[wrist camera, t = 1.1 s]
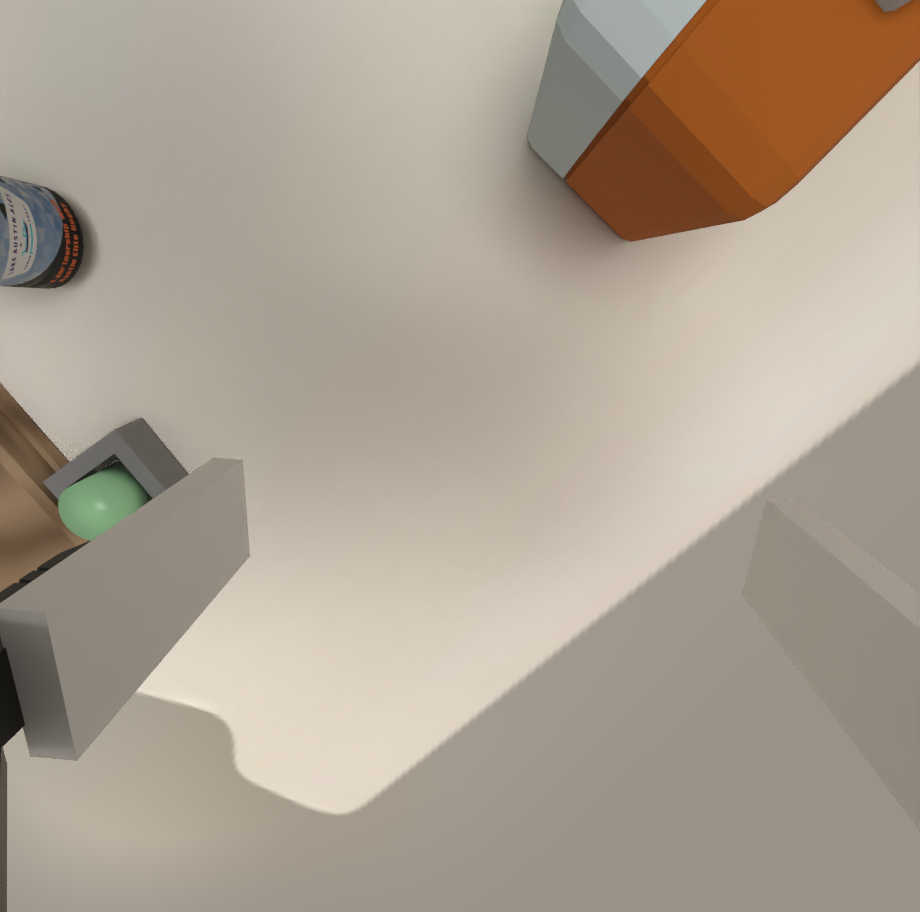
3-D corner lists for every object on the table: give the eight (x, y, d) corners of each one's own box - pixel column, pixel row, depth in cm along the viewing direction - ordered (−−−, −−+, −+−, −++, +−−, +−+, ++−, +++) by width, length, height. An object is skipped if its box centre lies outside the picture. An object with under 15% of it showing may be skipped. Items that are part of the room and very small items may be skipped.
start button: (93, 478, 40) (45, 503, 36) (132, 450, 39) (88, 472, 35) (131, 521, 41) (89, 551, 37) (170, 495, 40) (132, 522, 36)
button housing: (73, 467, 41) (42, 481, 38) (142, 417, 39) (114, 429, 37) (138, 540, 43) (113, 560, 40) (206, 496, 41) (185, 513, 38)
